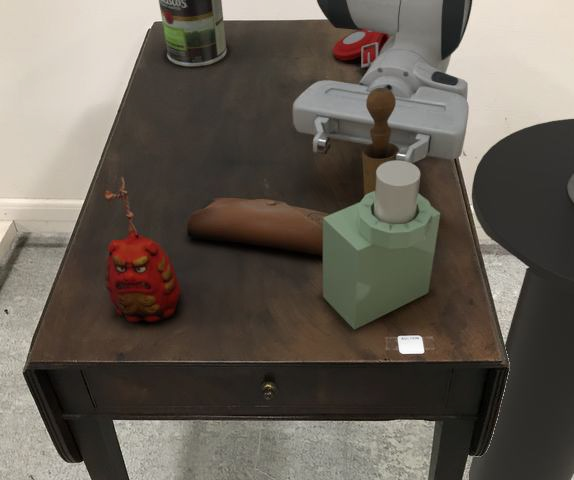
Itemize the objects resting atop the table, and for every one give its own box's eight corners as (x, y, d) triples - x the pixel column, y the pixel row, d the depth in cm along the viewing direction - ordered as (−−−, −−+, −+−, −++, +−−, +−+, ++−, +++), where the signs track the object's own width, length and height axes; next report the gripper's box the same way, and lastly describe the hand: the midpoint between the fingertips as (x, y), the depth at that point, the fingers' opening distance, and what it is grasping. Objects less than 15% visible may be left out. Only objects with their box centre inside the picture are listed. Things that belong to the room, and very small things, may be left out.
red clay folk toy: (109, 328, 75) (73, 217, 64) (120, 283, 80) (88, 172, 69) (179, 326, 75) (155, 214, 64) (186, 281, 80) (164, 170, 69)
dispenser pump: (398, 195, 68) (402, 155, 65) (424, 216, 66) (429, 175, 63) (365, 209, 67) (367, 169, 64) (390, 231, 65) (394, 190, 61)
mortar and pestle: (347, 225, 86) (340, 83, 74) (396, 213, 86) (398, 71, 74) (365, 255, 81) (361, 109, 69) (418, 242, 82) (423, 96, 69)
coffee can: (197, 73, 114) (184, -17, 103) (154, 56, 119) (138, -32, 108) (240, 50, 119) (232, -38, 109) (198, 34, 124) (186, -51, 114)
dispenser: (394, 262, 80) (404, 167, 71) (442, 305, 75) (459, 209, 66) (322, 296, 77) (322, 201, 68) (367, 344, 72) (374, 247, 63)
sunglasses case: (347, 215, 86) (343, 194, 79) (337, 269, 84) (331, 252, 78) (209, 198, 89) (194, 175, 83) (197, 249, 88) (181, 231, 82)
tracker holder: (319, 47, 116) (362, 15, 118) (328, 71, 119) (369, 39, 121) (366, 56, 107) (411, 21, 109) (374, 82, 110) (418, 47, 112)
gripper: (314, 58, 86) (270, 114, 77) (481, 83, 80) (454, 146, 71) (314, 105, 90) (273, 162, 81) (473, 131, 84) (447, 197, 76)
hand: (359, 155), depth 76 cm, fingers open, 8 cm apart
